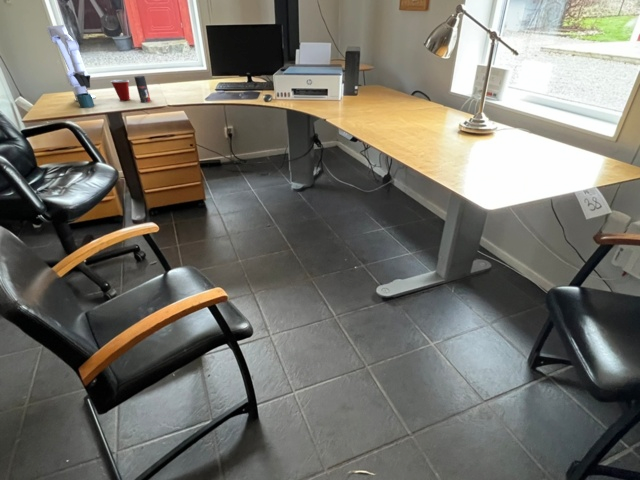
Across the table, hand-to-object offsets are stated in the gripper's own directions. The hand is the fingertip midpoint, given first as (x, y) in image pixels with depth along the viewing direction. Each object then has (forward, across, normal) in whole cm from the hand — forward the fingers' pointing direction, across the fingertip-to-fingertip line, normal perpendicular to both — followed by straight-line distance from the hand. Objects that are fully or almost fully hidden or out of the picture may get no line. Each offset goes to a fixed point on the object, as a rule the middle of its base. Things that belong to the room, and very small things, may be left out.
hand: (85, 87), depth 236 cm
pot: (+10, +3, -4) cm, 11 cm away
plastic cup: (+11, +6, +19) cm, 23 cm away
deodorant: (+11, +23, +24) cm, 35 cm away
